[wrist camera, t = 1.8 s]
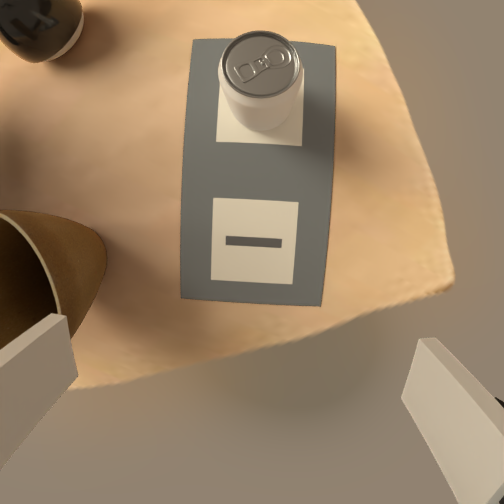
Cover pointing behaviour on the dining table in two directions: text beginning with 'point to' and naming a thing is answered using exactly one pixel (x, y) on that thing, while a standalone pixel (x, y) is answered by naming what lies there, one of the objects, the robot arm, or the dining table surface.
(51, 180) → the dining table surface
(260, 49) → the can
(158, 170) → the dining table surface
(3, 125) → the dining table surface
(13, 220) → the plant pot
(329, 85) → the label panel
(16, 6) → the pump dispenser
